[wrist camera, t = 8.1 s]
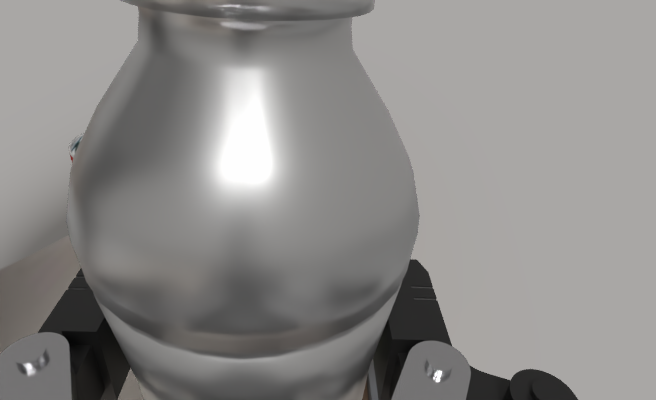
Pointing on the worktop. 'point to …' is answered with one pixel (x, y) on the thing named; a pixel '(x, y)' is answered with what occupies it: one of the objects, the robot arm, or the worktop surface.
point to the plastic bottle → (244, 202)
